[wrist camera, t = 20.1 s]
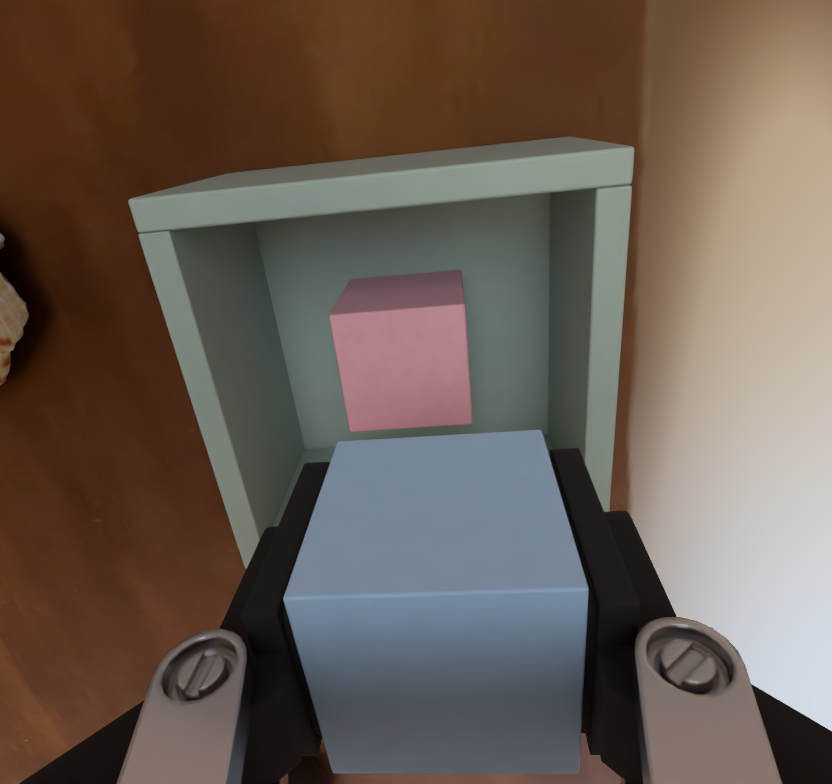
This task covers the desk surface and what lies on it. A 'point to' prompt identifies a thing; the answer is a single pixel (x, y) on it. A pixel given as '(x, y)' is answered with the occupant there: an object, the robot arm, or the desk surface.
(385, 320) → the toy pink
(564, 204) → the bin
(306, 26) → the desk surface
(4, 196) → the desk surface
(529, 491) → the toy blue
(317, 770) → the mug
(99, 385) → the desk surface
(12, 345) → the seashell
